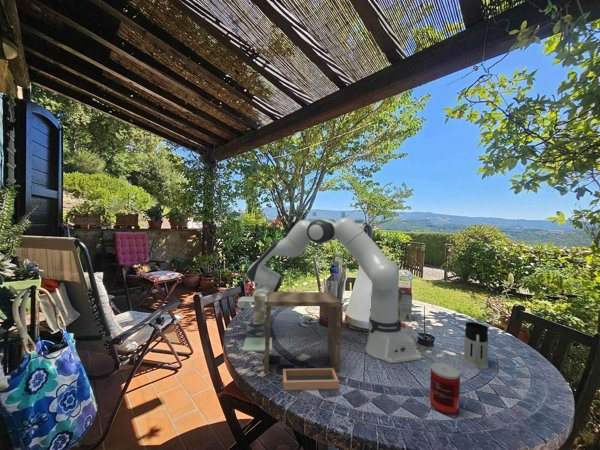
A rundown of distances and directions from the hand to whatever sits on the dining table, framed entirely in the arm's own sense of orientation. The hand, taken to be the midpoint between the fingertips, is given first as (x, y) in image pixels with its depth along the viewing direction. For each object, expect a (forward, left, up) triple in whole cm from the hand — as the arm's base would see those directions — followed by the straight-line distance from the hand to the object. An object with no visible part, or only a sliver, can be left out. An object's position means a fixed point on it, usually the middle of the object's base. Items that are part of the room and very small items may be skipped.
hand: (259, 308), depth 116 cm
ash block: (0, -1, -6) cm, 7 cm away
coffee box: (-83, -33, -17) cm, 91 cm away
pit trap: (-19, +28, -16) cm, 37 cm away
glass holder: (-86, +19, -17) cm, 90 cm away
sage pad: (0, -1, -16) cm, 16 cm away
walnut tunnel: (-17, +15, -16) cm, 28 cm away
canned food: (-58, +41, -17) cm, 73 cm away
